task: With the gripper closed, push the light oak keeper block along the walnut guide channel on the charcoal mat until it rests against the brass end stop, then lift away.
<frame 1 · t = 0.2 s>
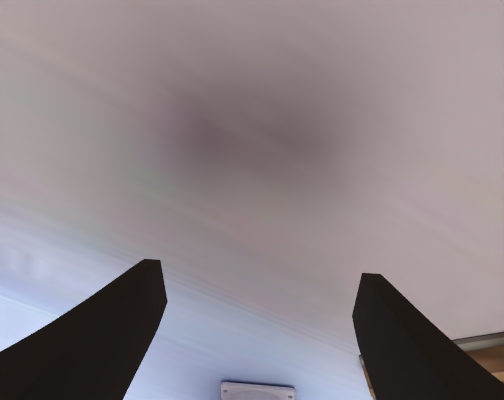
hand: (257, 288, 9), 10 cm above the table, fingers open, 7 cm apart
guide channel: (479, 375, 25), on the table
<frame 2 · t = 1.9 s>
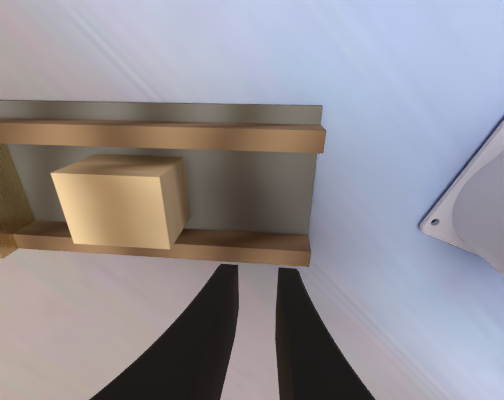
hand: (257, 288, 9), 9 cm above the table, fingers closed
end stop: (18, 179, 19), resting on guide channel
guide channel: (168, 185, 19), on the table
keeper block: (145, 186, 18), resting on guide channel
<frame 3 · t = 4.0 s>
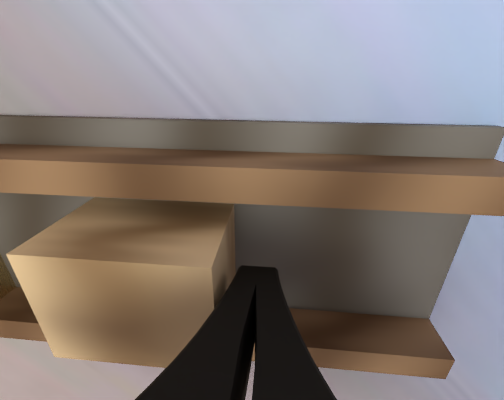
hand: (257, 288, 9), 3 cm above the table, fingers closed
guide channel: (217, 243, 12), on the table
keeper block: (169, 245, 12), resting on guide channel, touching gripper
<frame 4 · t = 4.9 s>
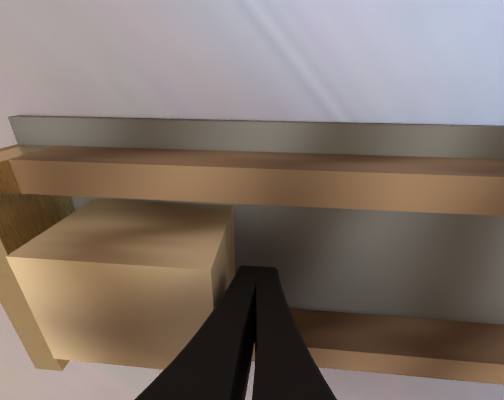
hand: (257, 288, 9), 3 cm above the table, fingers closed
end stop: (78, 235, 13), resting on guide channel
guide channel: (322, 249, 12), on the table
keeper block: (168, 247, 12), resting on guide channel, touching gripper
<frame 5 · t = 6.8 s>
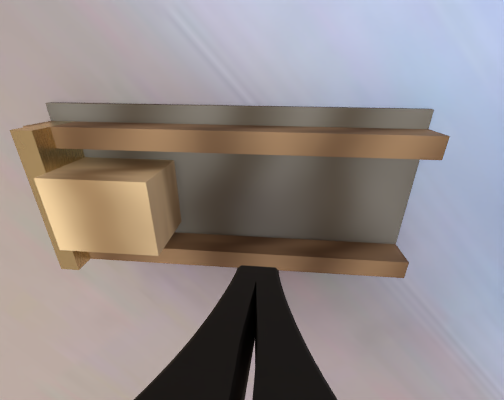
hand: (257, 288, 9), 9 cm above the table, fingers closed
end stop: (88, 185, 18), resting on guide channel
guide channel: (250, 192, 18), on the table
keeper block: (135, 190, 18), resting on guide channel, touching end stop
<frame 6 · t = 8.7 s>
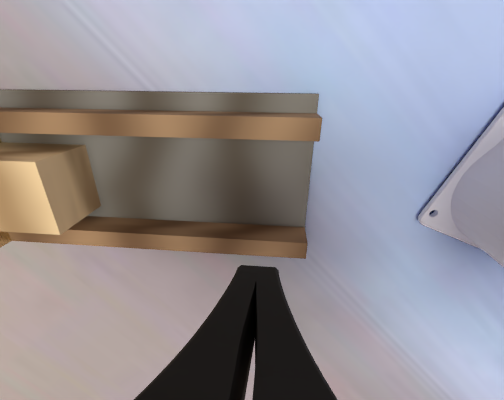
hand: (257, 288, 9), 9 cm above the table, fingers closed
guide channel: (163, 176, 18), on the table
keeper block: (53, 175, 19), resting on guide channel, touching end stop
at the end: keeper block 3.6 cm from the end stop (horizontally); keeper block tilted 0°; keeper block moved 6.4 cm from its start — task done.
